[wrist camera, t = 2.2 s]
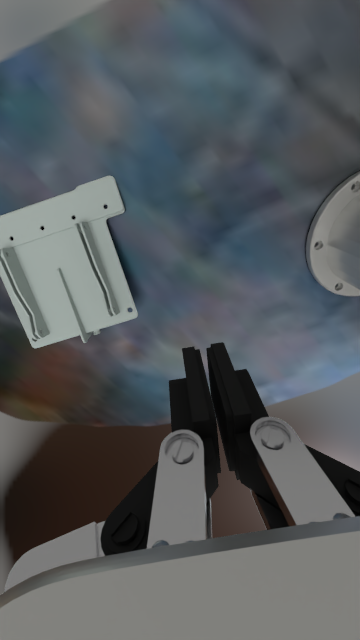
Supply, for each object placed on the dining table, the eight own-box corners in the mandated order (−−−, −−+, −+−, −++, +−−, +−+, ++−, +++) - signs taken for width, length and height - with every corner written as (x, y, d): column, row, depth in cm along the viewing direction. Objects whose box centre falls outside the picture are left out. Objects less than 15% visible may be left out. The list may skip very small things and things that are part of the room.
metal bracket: (159, 323, 24) (7, 369, 25) (163, 311, 30) (39, 349, 31) (102, 153, 21) (-68, 213, 22) (119, 176, 27) (-17, 223, 28)
